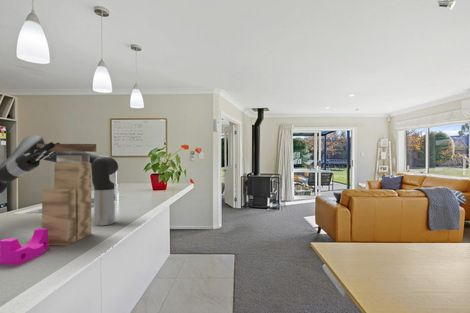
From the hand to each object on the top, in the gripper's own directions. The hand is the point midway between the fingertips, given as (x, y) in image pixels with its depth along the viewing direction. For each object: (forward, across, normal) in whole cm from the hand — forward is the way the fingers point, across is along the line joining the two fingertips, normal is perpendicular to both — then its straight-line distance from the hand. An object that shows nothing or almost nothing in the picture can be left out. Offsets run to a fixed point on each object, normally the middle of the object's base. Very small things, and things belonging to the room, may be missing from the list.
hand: (56, 144), depth 116 cm
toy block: (-14, +22, -38) cm, 46 cm away
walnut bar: (+2, 0, -5) cm, 5 cm away
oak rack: (-13, +3, -37) cm, 40 cm away
